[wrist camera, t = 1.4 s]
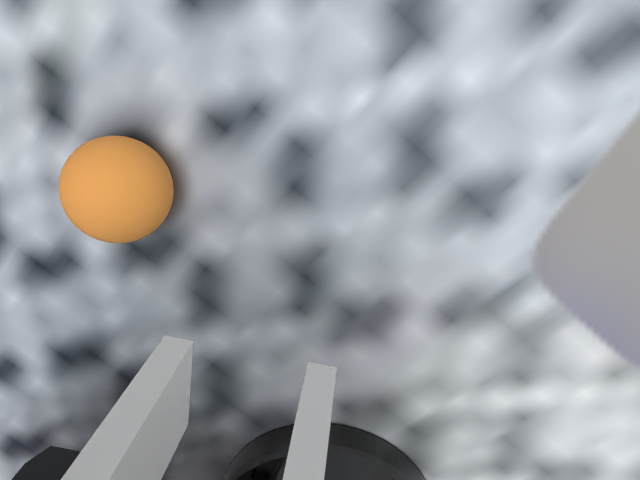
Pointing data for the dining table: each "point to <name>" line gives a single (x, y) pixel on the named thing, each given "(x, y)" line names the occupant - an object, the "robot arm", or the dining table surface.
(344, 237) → the dining table surface
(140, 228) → the ball
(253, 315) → the dining table surface
